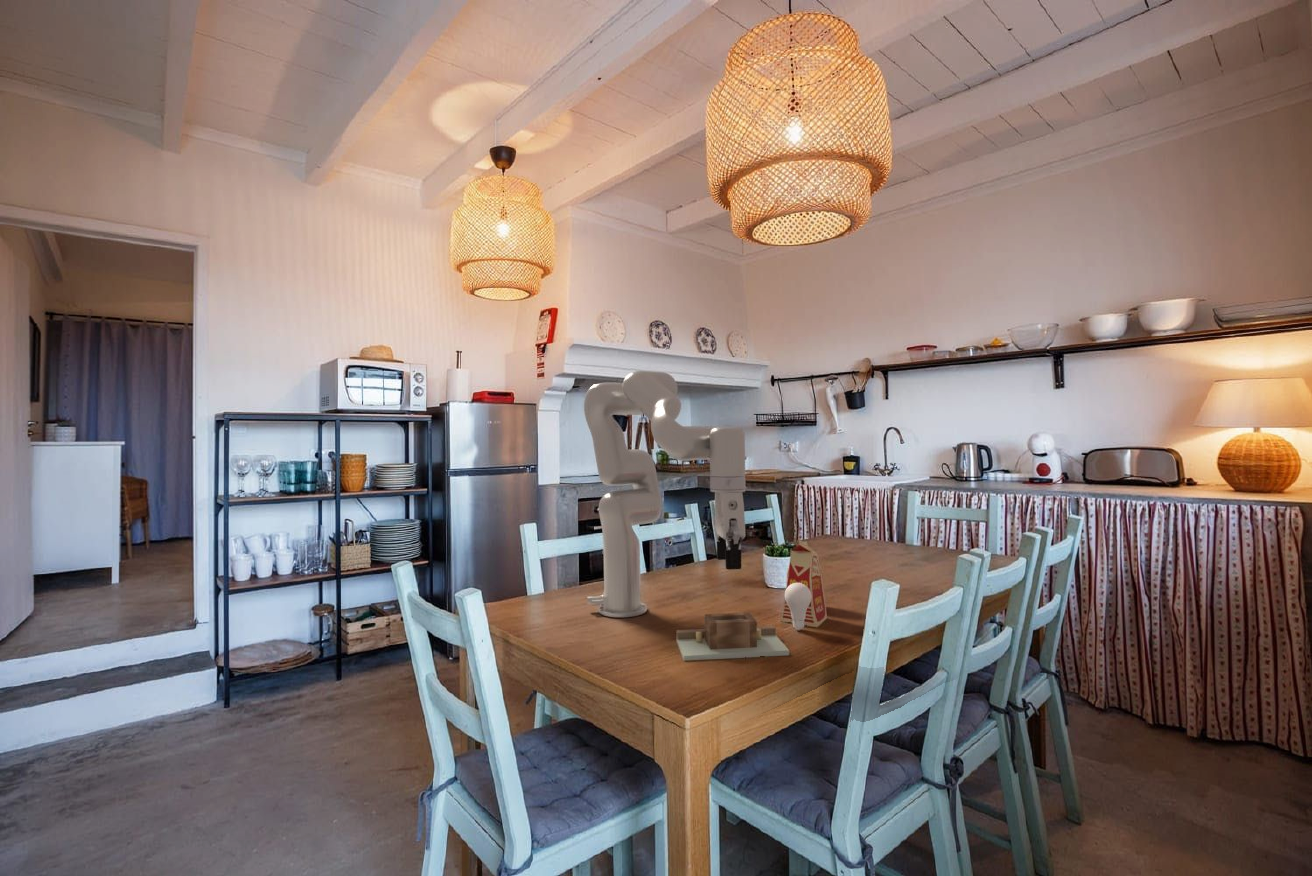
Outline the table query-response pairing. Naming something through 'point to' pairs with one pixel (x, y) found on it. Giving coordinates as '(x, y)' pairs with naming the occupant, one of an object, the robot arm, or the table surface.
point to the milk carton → (809, 574)
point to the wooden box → (730, 631)
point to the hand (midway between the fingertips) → (728, 564)
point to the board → (698, 649)
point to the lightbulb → (798, 603)
